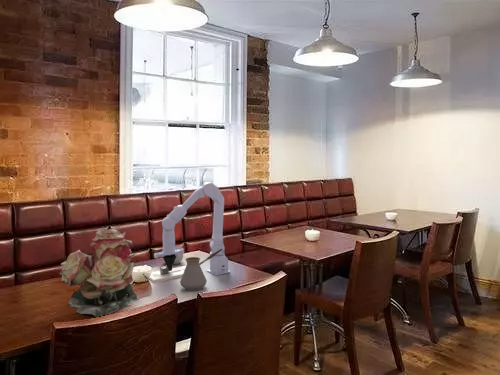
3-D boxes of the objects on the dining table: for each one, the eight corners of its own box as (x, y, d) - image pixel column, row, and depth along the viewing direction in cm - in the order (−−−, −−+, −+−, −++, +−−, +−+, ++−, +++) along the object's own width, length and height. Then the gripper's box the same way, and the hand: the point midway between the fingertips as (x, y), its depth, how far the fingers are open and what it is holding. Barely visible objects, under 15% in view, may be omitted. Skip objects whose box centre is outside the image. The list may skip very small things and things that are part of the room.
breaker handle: (168, 273, 194) (168, 267, 194) (162, 274, 192) (162, 268, 192) (166, 271, 197) (166, 266, 196) (160, 272, 195) (160, 267, 195)
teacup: (160, 261, 220) (160, 247, 219) (180, 259, 224) (180, 244, 224) (167, 268, 207) (166, 252, 206) (187, 265, 212) (187, 250, 211)
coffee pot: (188, 294, 169) (187, 259, 168) (175, 287, 179) (174, 253, 177) (230, 284, 182) (230, 250, 181) (217, 277, 191) (216, 246, 190)
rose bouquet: (54, 306, 159) (49, 229, 156) (123, 287, 179) (120, 219, 177) (82, 325, 141) (77, 239, 138) (155, 302, 161) (153, 227, 159)
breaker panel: (197, 273, 198) (197, 271, 198) (153, 282, 185) (153, 279, 185) (186, 267, 208) (186, 265, 207) (144, 276, 195) (144, 273, 195)
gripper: (179, 238, 202) (180, 265, 203) (151, 243, 194) (152, 271, 195) (185, 241, 196) (186, 269, 198) (156, 245, 188) (157, 274, 189)
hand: (169, 270), depth 196 cm, fingers closed
